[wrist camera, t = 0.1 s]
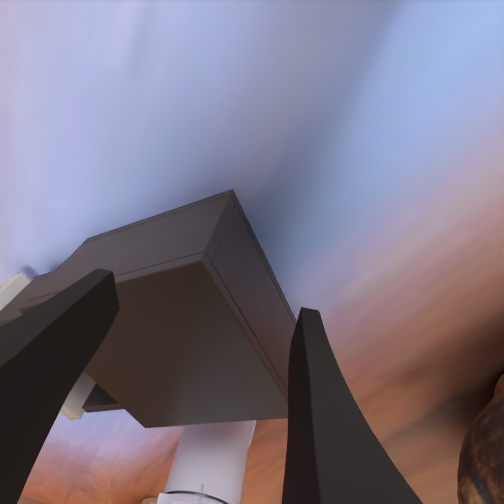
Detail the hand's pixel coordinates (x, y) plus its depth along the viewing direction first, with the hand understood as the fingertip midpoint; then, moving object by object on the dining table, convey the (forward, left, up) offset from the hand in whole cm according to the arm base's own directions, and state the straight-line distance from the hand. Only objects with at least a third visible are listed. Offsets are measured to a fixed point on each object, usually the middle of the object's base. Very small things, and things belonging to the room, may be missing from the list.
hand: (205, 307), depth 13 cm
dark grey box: (-9, +3, -10) cm, 14 cm away
